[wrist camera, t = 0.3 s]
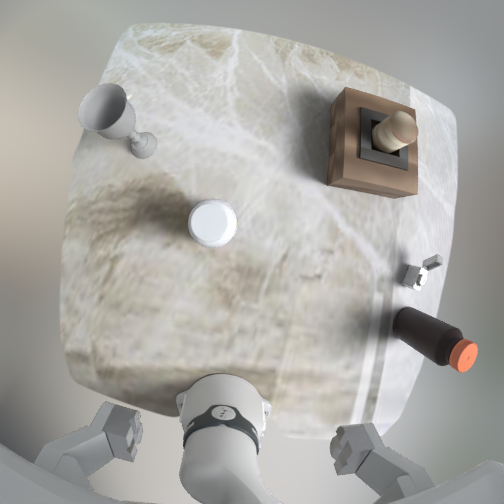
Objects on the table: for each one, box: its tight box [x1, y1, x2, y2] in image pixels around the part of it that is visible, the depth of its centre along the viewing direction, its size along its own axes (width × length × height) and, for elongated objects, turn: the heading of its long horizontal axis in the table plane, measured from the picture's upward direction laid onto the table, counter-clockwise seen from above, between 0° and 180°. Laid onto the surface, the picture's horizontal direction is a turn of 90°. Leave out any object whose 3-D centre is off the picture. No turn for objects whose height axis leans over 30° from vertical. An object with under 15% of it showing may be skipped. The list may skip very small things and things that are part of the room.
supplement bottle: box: [188, 199, 237, 248], centre depth 40 cm, size 7×7×13 cm
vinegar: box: [393, 307, 478, 373], centre depth 40 cm, size 7×7×20 cm
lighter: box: [402, 254, 443, 291], centre depth 45 cm, size 7×2×8 cm, turn 155°
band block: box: [327, 87, 418, 199], centre depth 43 cm, size 16×14×9 cm
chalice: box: [78, 83, 157, 159], centre depth 36 cm, size 7×7×18 cm
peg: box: [371, 111, 418, 154], centre depth 37 cm, size 5×5×8 cm
